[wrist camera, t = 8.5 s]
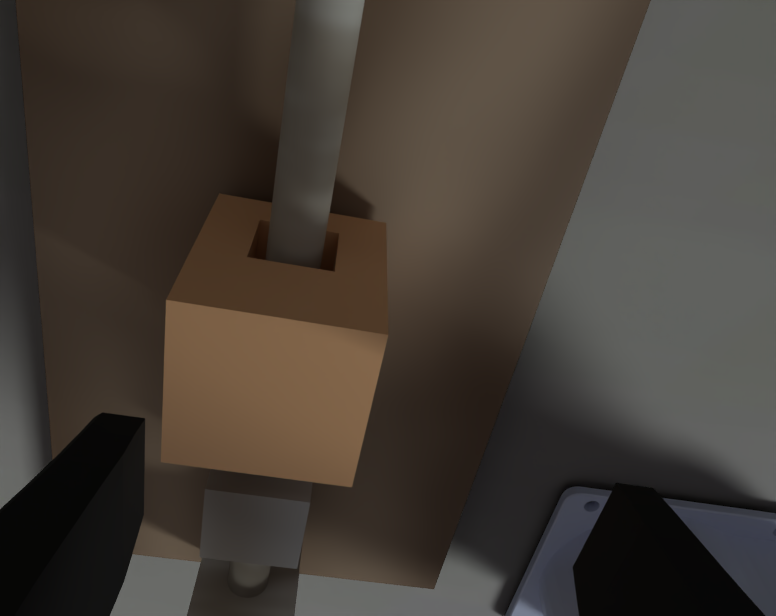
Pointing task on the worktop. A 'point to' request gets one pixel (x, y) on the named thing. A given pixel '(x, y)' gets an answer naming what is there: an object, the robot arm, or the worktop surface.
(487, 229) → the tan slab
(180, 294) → the sleeve
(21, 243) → the worktop surface
